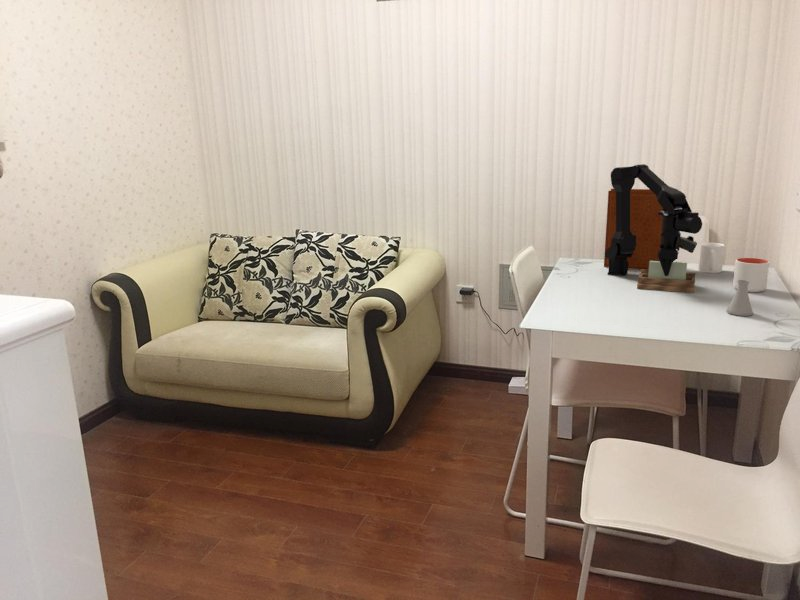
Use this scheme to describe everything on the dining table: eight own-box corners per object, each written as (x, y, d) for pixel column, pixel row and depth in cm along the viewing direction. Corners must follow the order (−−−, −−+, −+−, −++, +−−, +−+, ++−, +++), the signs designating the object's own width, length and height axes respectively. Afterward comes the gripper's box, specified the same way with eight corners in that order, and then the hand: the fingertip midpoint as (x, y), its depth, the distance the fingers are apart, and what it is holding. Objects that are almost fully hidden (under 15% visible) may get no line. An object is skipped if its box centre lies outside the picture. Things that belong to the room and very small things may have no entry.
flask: (753, 311, 201) (757, 279, 198) (752, 318, 195) (756, 284, 192) (727, 308, 204) (730, 277, 202) (724, 314, 198) (728, 282, 196)
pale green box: (647, 281, 232) (649, 261, 231) (648, 280, 235) (650, 260, 234) (685, 284, 227) (686, 264, 226) (685, 282, 231) (687, 262, 229)
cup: (768, 294, 220) (771, 264, 217) (734, 292, 223) (737, 263, 220) (762, 287, 229) (766, 258, 226) (730, 285, 232) (734, 257, 230)
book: (603, 266, 264) (608, 190, 257) (606, 262, 272) (610, 188, 264) (665, 270, 256) (672, 192, 248) (666, 266, 263) (673, 189, 255)
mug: (723, 276, 245) (726, 248, 242) (698, 274, 248) (701, 247, 245) (721, 269, 256) (724, 243, 253) (697, 268, 259) (700, 242, 256)
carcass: (637, 288, 230) (638, 275, 229) (640, 281, 240) (640, 269, 239) (693, 292, 223) (695, 279, 222) (694, 285, 233) (695, 272, 232)
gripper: (696, 235, 215) (691, 282, 219) (697, 226, 231) (692, 270, 235) (659, 233, 219) (655, 279, 223) (662, 225, 236) (659, 268, 240)
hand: (666, 274), depth 230 cm, fingers open, 5 cm apart
